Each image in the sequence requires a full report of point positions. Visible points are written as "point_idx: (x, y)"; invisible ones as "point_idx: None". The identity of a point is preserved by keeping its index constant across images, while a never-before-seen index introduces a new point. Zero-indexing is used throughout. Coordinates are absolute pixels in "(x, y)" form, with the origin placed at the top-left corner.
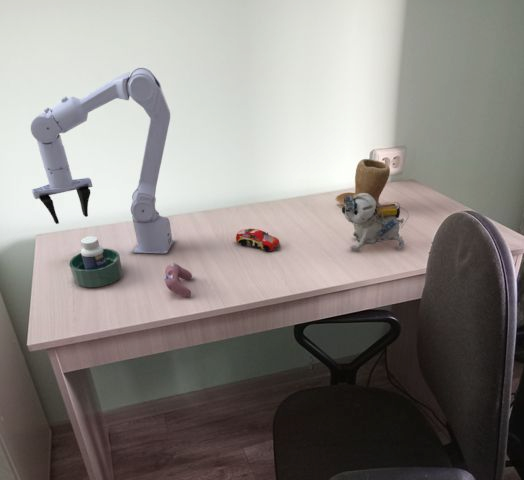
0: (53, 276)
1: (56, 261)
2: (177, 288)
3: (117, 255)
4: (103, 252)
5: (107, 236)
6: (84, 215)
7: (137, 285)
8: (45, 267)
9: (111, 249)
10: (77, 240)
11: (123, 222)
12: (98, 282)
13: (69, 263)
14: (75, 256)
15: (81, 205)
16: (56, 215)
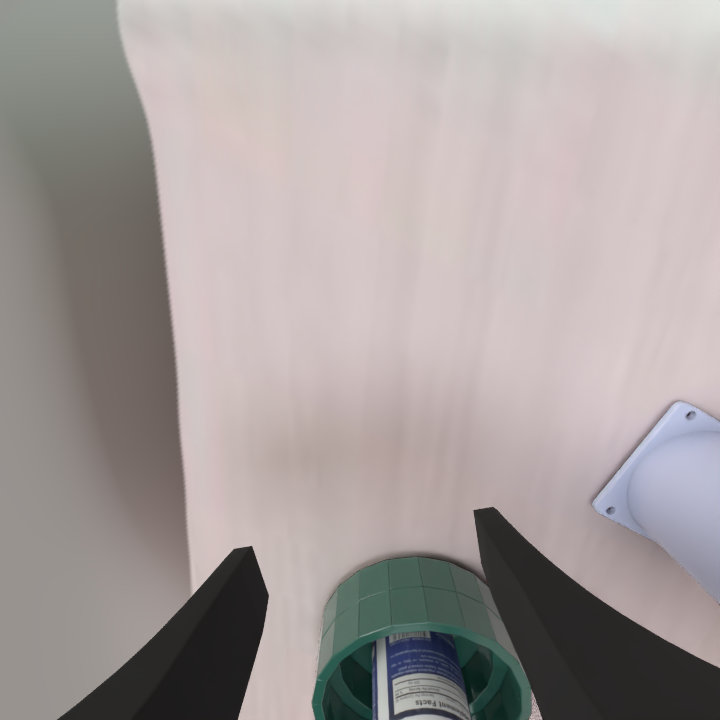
0: None
1: (254, 436)
2: None
3: (521, 716)
4: None
5: (531, 248)
6: (479, 544)
7: None
8: (209, 472)
9: (513, 656)
10: (363, 228)
11: (689, 48)
12: None
13: (313, 701)
14: (343, 656)
15: (507, 581)
16: (247, 682)
